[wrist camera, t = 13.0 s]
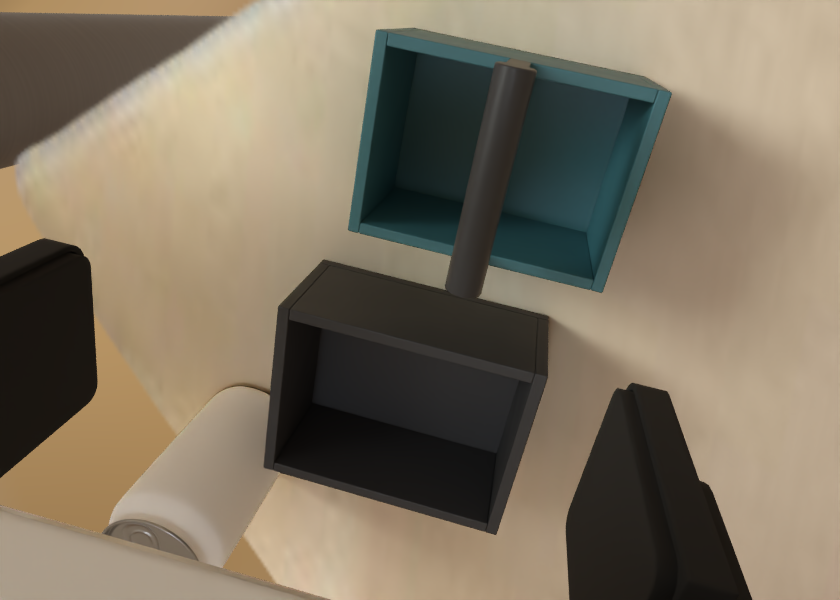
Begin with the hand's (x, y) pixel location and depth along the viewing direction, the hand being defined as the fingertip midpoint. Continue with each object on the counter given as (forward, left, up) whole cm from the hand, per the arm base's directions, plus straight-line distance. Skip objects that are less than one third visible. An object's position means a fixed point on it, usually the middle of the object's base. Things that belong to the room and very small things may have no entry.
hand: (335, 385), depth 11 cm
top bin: (+1, +1, -23) cm, 23 cm away
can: (-11, -21, -23) cm, 33 cm away
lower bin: (-1, -13, -23) cm, 27 cm away
